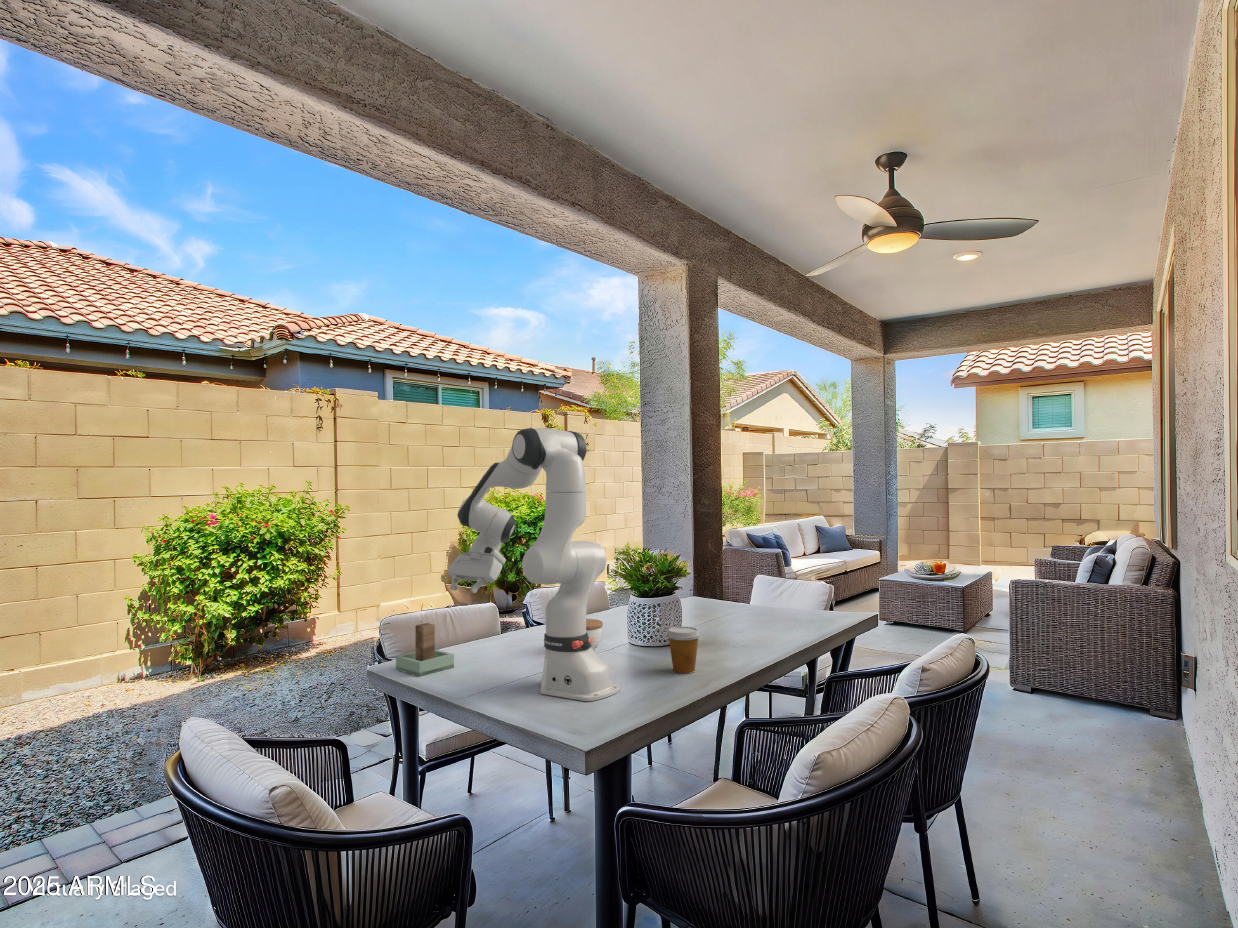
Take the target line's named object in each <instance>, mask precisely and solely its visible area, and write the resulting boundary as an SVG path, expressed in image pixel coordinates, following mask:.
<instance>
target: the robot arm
mask: <svg viewBox="0 0 1238 928" xmlns="http://www.w3.org/2000/svg"><path fill="white" fill-rule="evenodd" d="M587 448H588V447H587V443H586V439H585V438H584V436H583V435H582V434H580V433H579V432H576V431H573V430H567V431H566V430H562V429H556V428H555V429H554V428H551V427H550V428H549V427H548V428H547V427H546V428H545V427H541V428H533V427H528V428H523V429H520V430H519V431H517V433H515V435H514V437H513V440H512V445H511V446H510V449H509V451H508V454H507V456H506V457H505V458H504V460H502V461H500V462H494V463H493V464H492V465H490V467H489V468H488V469H487V470H486V472H485V473H484V474H483V476H482V477H481V478H480V480H479V482H477V484H476V486H475V487H474V488H473V490H472V492H471V493H470V495H469V496H468V497H467V498H465V500H463V502H462V503H461V504H460V506H459V508H458V511H457V519H458V521H459V524H461V526H463V527H466V528H469V529H472V530H474V531H476V532H478V533H479V535H478V536H477V537H476V538H475V539H474V541H473V543H472V544H471V547H470V548H469V550H468V552H462V554H459V555H457V556H456V558H455V559H454V560H453V562H452V563H451V564H450V566H449V567H448V569H447V575H448V576H450V577H451V578H452V579H451V585H450V586H449V589H450V590H451V591H455V592H456V591H457V590H458V588H459V585H458V583H459V582H460V581H461V580H463V581H464V580H466V581H474V582H475V583H474V585H470V588H469V592H471V593H472V594H476V593H477V592H478V590H479V589H480V588H481V587H483V586H484V585H485V583H494V582H495V581H497V579H498V578H499V576H500V573H501V571H502V569H503V565H505V563H506V562H507V559H506V558H505V557H504V556H503V555H502V554H501V553H500V549H501V547H502V545H503V544H504V543H507V542H508V541H510V538H511V536H512V534H513V533H514V531H515V529H516V527H517V523H516V520H515V516H514V515H513V514H512V513H511V512H509V511H508V509H504V508H500V507H498V506H495V505H494V504H491V503H490V502H487V501H486V500H485V499H484V497H485V496H486V494H487V493H488V491H489V490H490V489H491V488H494V487H500V488H501V487H502V488H507V489H508V488H509V489H515V490H516V489H517V490H519V489H520V490H521V489H524V488H528V487H530V486H531V485H532V484H534V483H535V481H536V480H537V478H539V477H538V476H539V475H540V473H541V471H542V469H543V470H544V472H545V478H546V479H545V510H544V511H545V512H544V520H543V525H542V528H541V531H540V533H539V534H538V537H537V539H536V540H535V542H534V543H533V544H532V545H531V546H530V547H529V548H528V549H527V550H526V552H524V555H523V557H522V562H521V567H522V572H523V574H524V577H525V578H526V579H527V581H528V582H530V583H532V584H535V585H536V584H538V585H546V586H547V585H548V586H549V585H550V586H551V585H558V584H560V585H559V588H558V589H557V590H558V591H557V592H556V593H555V595H554V596H552V597H551V599H549V600H548V601H547V603H546V606H545V632H544V636H543V637H544V639H543V647H544V648H545V655H544V659H543V660H544V661H543V668H542V669H543V670H542V676H541V680H540V684H539V687H540V691H539V693H540V694H542V695H548V696H553V697H560V698H564V699H565V698H566V699H571V700H577V701H582V702H583V701H584V702H591V701H592V702H593V701H598V700H601V699H606V698H608V697H611V696H613V695H615V694H617V693H618V692H619V691H621V684H619V683H617V682H615V681H613V679H612V672H611V668H610V666H609V664H608V663H607V662H606V661H605V660H604V659H603V658H602V657H601V656H600V655H599V654H598V653H597V652H596V650H593V649H592V648H591V642H594V641H591V640H592V639H594V637H593V638H589V636H588V633H587V632H586V619H587V610H588V609H587V607H588V601H589V597H590V594H591V591H592V588H593V586H594V584H595V583H596V580H597V579H598V578H599V577H600V576H601V574H602V573H603V572H604V571H605V569H606V566H607V555H606V551H605V549H604V548H603V547H602V545H601V544H599V543H597V542H593V541H589V540H574V541H572V538H573V535H574V533H575V531H576V530H577V529H578V528H579V527H580V526H582V525H583V524H584V522H585V521H586V517H587V516H586V514H587V513H586V512H587V511H586V510H587V508H586V507H587V492H586V491H587V484H586V483H587V482H586V472H585V465H584V462H583V461H584V460H585V458H586V454H587Z"/></svg>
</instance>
